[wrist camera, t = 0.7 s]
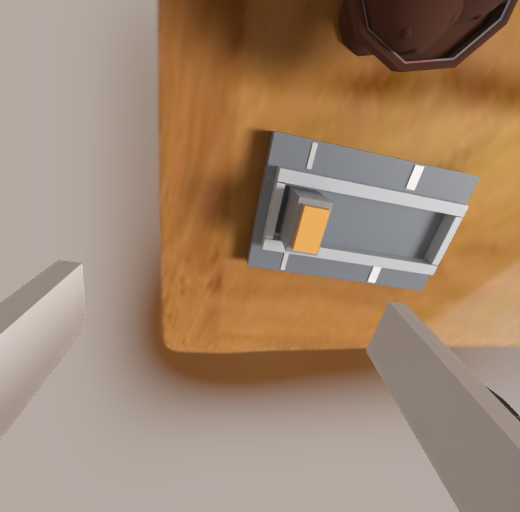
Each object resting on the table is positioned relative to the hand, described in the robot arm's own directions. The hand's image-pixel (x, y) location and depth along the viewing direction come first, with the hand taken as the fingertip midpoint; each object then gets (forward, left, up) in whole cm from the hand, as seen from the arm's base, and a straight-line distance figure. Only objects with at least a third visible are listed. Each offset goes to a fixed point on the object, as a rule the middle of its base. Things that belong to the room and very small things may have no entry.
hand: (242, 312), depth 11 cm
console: (0, +13, -20) cm, 24 cm away
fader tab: (0, +6, -18) cm, 19 cm away
